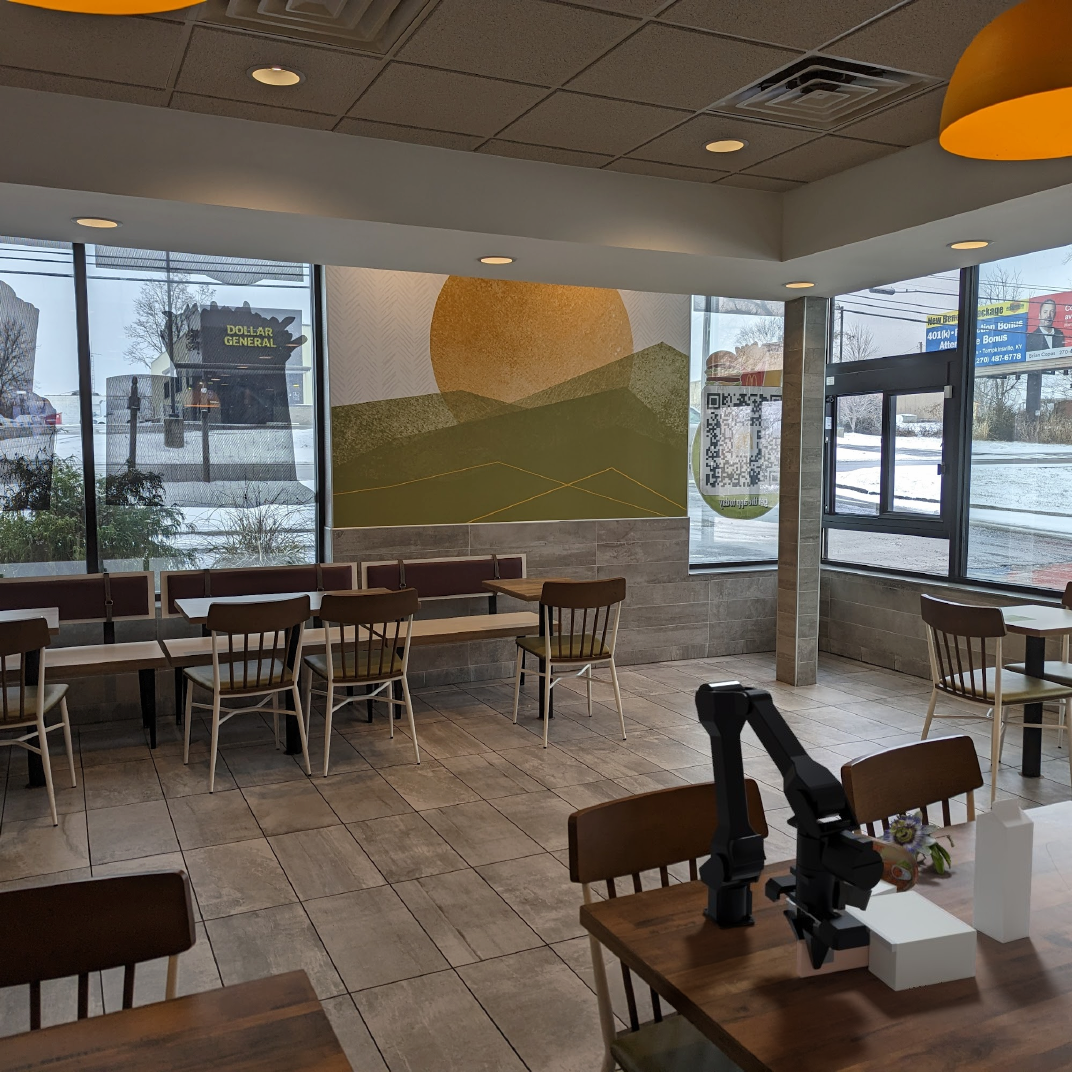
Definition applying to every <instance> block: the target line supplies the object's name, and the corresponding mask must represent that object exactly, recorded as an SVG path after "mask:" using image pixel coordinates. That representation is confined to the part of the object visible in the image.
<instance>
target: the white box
mask: <svg viewBox="0 0 1072 1072" xmlns="http://www.w3.org/2000/svg"><path fill="white" fill-rule="evenodd" d="M834 910H835V911H837V912H838V913H839V914H841V915H842V916H844V915H850V914H851V915H852V916H854V917H855V918H856V919H858V920H859V921H861V922H862V923H863V924H865V925H866V926H867V927H868V928H869V929H870V930H871V939H870V946H869V966H868V971H870V972H871V973H872V974H873V975H874V976H876V977H877V978H878V979H879V980H880V981H882V982H883V983H884V984H885V985H887V986H888V987H889V988H891V989H892V990H893V991H894V992H899V991H904V990H909V988H910V989H914V988H913V987H915V988H920V987H919V986H921V987H925V985H926V986H931V985H935V984H940V983H941V982H942V983H946V982H947V983H948V982H953V981H957V980H961V979H962V980H963V979H969V978H974V977H976V966H977V965H976V964H977V962H976V961H977V960H976V959H977V937H978V936H977V935H978V934H977V933H978V930H977V929H975V928H973V927H972V926H970V925H969V924H968V923H965V922H964V921H963V920H961V919H959V918H958V917H956V916H955V915H953V914H951V913H950V912H948V911H946V910H945V909H943V908H942V907H940V906H938V905H937V904H935V903H934V902H932V901H931V900H929V899H928V898H926V897H924V896H923V895H921V894H919V893H918V892H916V891H915V890H908V891H906V892H900V893H893V894H887V895H880V896H874V897H870V899H869V902H868V905H867V908H866V911H862V910H860V908H856V907H852V906H848V905H846V909H845V910H837V909H834ZM942 983H941V984H942Z"/></svg>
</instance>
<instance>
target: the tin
mask: <svg viewBox="0 0 1072 1072" xmlns="http://www.w3.org/2000/svg"><path fill="white" fill-rule="evenodd" d="M855 834H856V835H859V836H861V837H865V838H868V839H870V840H872V841H873V849H874V850H876V851H877V852H878V853H879V854H880V855H881V857H882V861H883V862H884V871H883V875H882V878H881V880H883V881H885V882H888V883H890V884H892V885H895V886H897V893H900V892H907V891H911V889H912V888H914V887H915V886H916V884H917V882H918V880H919V879H918V878H919V866H918V861H917V862H916V860H915V858H914V857H913V855H912V854H911V853H910V852H909V851H908V850H907V849H906V848H904V847H902V846H900V845H897V844H894V843H890V842H887V841H884V840H880V839H877V837H873V836H870V835H866V834H863V833H855Z"/></svg>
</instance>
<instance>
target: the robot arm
mask: <svg viewBox="0 0 1072 1072" xmlns="http://www.w3.org/2000/svg"><path fill="white" fill-rule="evenodd" d="M697 689H698V690H696V691H695V694H694V704H695V706H696V707H695V708H696V713H697V718H698V719H697V720H698V722H699V723H700V724H701V726H702V727H703V729H704V730H705V731H706V733H707V734H708V735H709V741H710V749H711V752H710V753H711V761H712V771H713V783H714V792H715V793H714V794H715V804H716V812H717V826H716V828H715V831H714V833H713V835H712V838H711V840H710V857H709V858H707V860H706V861H705V862H704V863H702V865H701V866H699V868H698V872H699V879H700V882H701V883H703V884H704V885H706V886H707V907H706V908H703V909H702V911H703V914H704V915H705V916H707V917H708V918H709V919H710V920H711V921H712V922H713V923H714V924H715V925H716V926H717V928H719V929H728V928H734V927H741V926H747V925H754V924H755V923H756V919H755V918H753V917H752V915H753V902H754V901H753V897H754V895H753V893H754V892H753V891H752V889H751V884H756V883H759V880H760V877H761V876H762V875H761V874H762V872H763V871H764V870H765V861H766V860H767V856H766V853H765V843H764V842H765V839H764V837H763V835H762V834H758V833H757V832H756V830H755V829H754V828H753V827H752V826H751V824H750V817H749V810H748V801H747V791H746V780H745V772H744V762H743V761H744V759H743V752H742V742H741V741H742V740H741V739H742V738H741V733H742V731H743V730H744V729H743V728H744V726H745V724H746V722H747V723H748V726H749V727H750V728H751V729H752V731H753V732H754V734H755V736H756V737H757V739H758V740H759V741H760V743H761V745H762V746H763V748H764V750H765V751H766V752H767V754H768V755H769V757H770V759H771V761H773V762H772V763H774V764H775V766H776V768H777V770H778V771H779V774H780V775H781V777H782V782H783V784H782V785H783V788H782V792H783V794H784V796H785V799H786V801H787V802H788V805H789V807H790V809H791V810H792V812H793V814H794V815H793V816H791V817H790V818H788V819H787V820H786V824H787V826H791V827H792V828H794V829H796V843H795V844H796V846H795V847H796V849H795V853H796V854H795V864H794V865H793V864H792V865H789V873H790V874H785V875H780V876H771V877H769V879H768V880H767V881H766V882H765V884H764V889H765V890H764V896H765V897H766V898H768V899H769V900H770V901H771V902H773V903H778V902H779V901H780V900H781V895H782V894H784V895H785V896H786V898H785V902H786V903H787V909H784V910H783V911H782V913H783V914H782V915H783V916H784V917H785V918H786V920H787V922H788V924H789V927H790V928H791V931H792V933H793V935H794V937H795V939H796V942H797V941H798V940H804V939H805V941H806V945H807V949H808V953H809V957H810V960H811V964H812V967H813V969H814V970H817V969H820V968H821V967H822V964H823V962H824V959H825V957H826V955H827V952H828V950H829V948H831V949H832V950H837V951H840V950H846V949H852V948H858V947H864V946H870V939H871V930H870V929H869V928H868V927H867V926H866V925H865V924H863V923H862V922H861V921H859V920H858V919H856V918H855V917H854V916H852V915H851V914H850V915H844V916H842V915H841V914H839V913H838V912H834V909H837V910H845V909H846V905H848V906H852V907H856V908H860V910H862V911H866V908H867V905H868V902H869V899H870V896H871V893H872V890H871V889H872V888H874V887H875V886H876V885H877V884H878V883H879V881H880V879H881V878H882V875H883V871H884V862H883V861H882V857H881V855H880V854H879V853H878V852H877V851H876V850H874V849H873V841H872V840H870V839H868V838H865V837H861V836H859V835H856V834H857V833H854V832H855V831H856V832H857V831H860V830H861V826H860V824H859V821H858V819H857V817H858V816H857V814H856V813H855V810H854V809H853V807H852V805H851V803H850V801H849V798H848V796H847V792H846V790H845V788H844V786H843V784H842V783H841V781H840V780H839V779H838V778H837V777H836V776H835V774H833V773H832V771H830V769H829V768H827V767H826V766H824V765H822V764H821V763H819V762H818V761H816V760H814V759H813V758H812V757H811V755H809V754H808V753H807V751H806V750H805V748H804V746H803V745H802V743H801V742H800V741H799V739H798V737H797V736H796V734H795V733H794V732H793V730H792V729H791V727H790V726H789V725H788V723H787V722H786V719H784V717H783V716H782V714H781V713H780V711H779V710H778V708H777V706H775V704H774V700H773V697H772V694H771V693H770V692H769V690H766V689H763V688H757V687H755V686H745V685H744V686H743V685H742V684H741V682H739V681H738V680H735V679H732V680H724V681H714V682H705V683H703V684H701V685H699V687H698V688H697ZM837 816H839V818H840V819H834V820H828V821H822V820H823V819H828V818H834V817H837Z"/></svg>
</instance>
